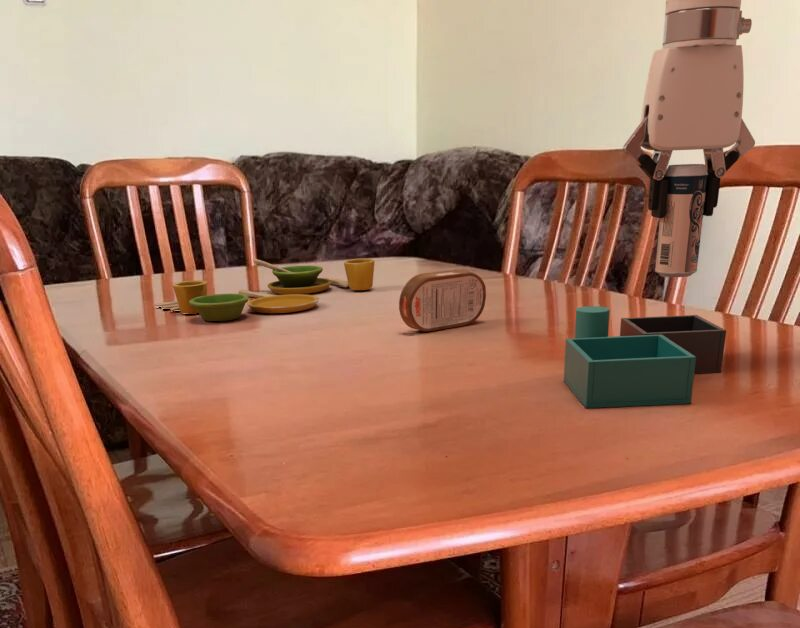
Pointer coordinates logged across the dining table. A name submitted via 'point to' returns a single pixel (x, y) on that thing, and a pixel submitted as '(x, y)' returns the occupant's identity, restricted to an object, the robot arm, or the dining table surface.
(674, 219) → the beer can
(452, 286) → the tin
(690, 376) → the teal bin
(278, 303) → the tableware set
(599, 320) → the teal peg
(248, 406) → the dining table surface
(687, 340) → the charcoal bin
